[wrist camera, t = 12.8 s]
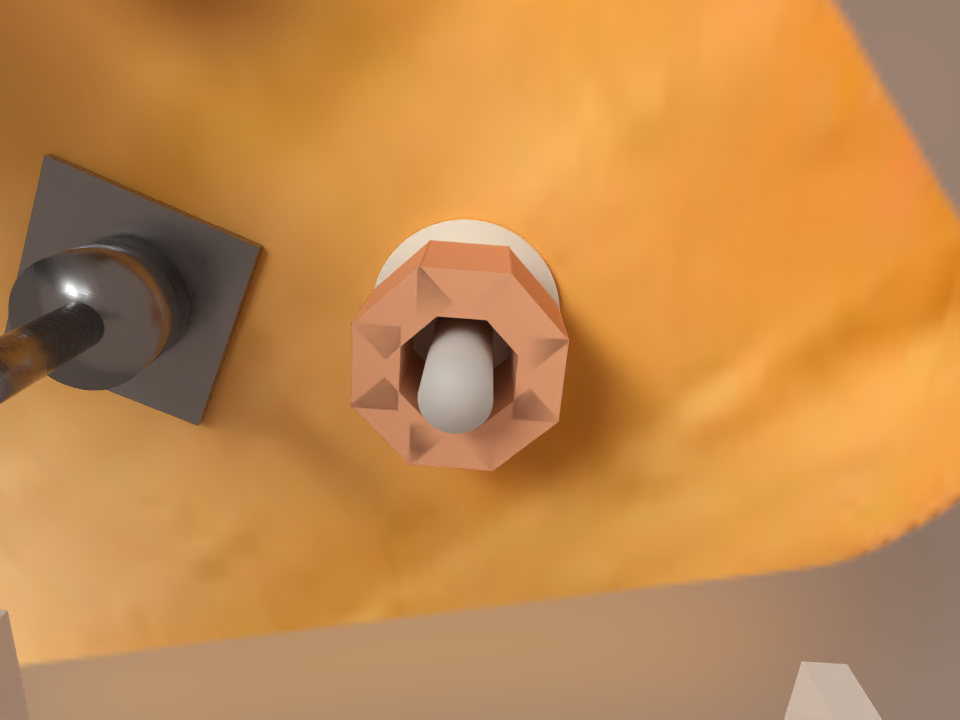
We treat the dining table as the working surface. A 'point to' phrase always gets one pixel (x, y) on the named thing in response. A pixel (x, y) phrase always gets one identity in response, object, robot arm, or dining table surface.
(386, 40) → the dining table surface
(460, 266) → the collar
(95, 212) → the stand
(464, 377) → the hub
